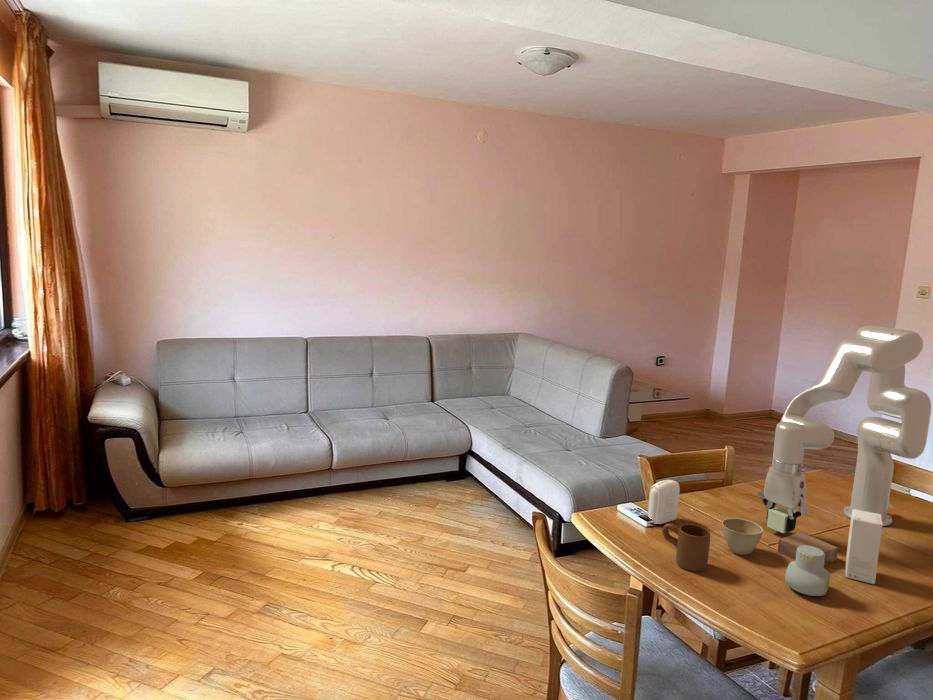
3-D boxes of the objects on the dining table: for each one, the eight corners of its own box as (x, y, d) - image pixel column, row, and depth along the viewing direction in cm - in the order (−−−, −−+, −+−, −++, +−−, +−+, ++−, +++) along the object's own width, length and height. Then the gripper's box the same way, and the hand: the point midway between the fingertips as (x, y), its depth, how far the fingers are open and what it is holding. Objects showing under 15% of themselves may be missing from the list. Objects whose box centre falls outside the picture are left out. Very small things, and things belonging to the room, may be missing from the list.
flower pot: (740, 540, 172) (743, 516, 171) (768, 557, 163) (771, 531, 162) (711, 544, 169) (713, 519, 168) (737, 562, 160) (740, 536, 159)
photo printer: (667, 514, 188) (670, 475, 186) (679, 519, 184) (682, 480, 182) (644, 521, 182) (647, 481, 180) (656, 527, 179) (659, 486, 177)
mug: (654, 559, 160) (657, 525, 158) (665, 549, 165) (669, 516, 164) (701, 576, 152) (704, 540, 151) (711, 564, 158) (715, 530, 156)
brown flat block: (799, 545, 171) (801, 531, 171) (835, 561, 163) (837, 547, 162) (777, 553, 166) (779, 539, 166) (813, 570, 158) (815, 555, 157)
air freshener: (792, 574, 155) (797, 537, 153) (829, 587, 149) (835, 548, 148) (781, 592, 146) (786, 552, 145) (820, 605, 141) (826, 565, 139)
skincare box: (874, 585, 151) (884, 525, 148) (843, 577, 154) (851, 518, 152) (874, 571, 158) (882, 513, 155) (843, 563, 161) (852, 507, 159)
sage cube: (777, 522, 180) (778, 506, 179) (793, 529, 176) (795, 512, 175) (766, 526, 178) (768, 510, 177) (783, 533, 173) (785, 516, 172)
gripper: (824, 473, 168) (817, 535, 171) (766, 454, 183) (760, 512, 186) (809, 478, 164) (801, 542, 168) (751, 459, 179) (745, 518, 182)
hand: (780, 526), depth 177 cm, fingers closed on sage cube, 5 cm apart
